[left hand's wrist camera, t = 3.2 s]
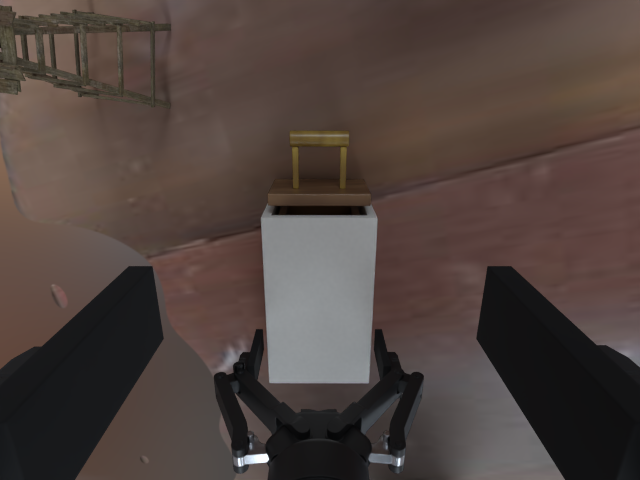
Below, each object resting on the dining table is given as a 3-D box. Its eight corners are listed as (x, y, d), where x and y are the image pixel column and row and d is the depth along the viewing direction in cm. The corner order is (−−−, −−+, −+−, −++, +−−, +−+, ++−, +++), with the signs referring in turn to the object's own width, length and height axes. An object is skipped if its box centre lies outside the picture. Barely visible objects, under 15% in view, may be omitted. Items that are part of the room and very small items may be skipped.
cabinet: (271, 195, 48) (260, 217, 39) (367, 195, 48) (377, 217, 39) (277, 337, 55) (269, 383, 46) (361, 337, 55) (369, 383, 46)
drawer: (272, 126, 44) (264, 133, 38) (365, 126, 44) (374, 133, 38) (280, 319, 53) (274, 353, 46) (358, 319, 53) (363, 353, 46)
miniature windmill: (90, 97, 44) (-317, 110, 16) (85, 9, 41) (-423, -164, 13) (175, 109, 44) (-76, 142, 16) (176, 23, 42) (-126, -117, 13)
